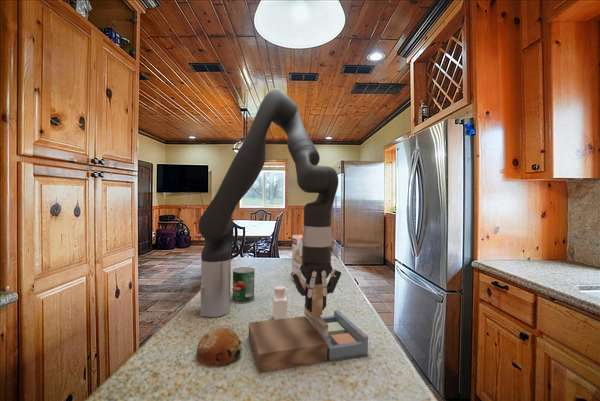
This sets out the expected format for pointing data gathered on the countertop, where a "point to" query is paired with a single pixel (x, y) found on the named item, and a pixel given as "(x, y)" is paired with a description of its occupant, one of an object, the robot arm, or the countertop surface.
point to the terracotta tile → (342, 339)
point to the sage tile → (335, 329)
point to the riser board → (286, 343)
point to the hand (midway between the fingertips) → (315, 309)
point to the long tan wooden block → (317, 311)
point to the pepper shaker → (279, 303)
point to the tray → (349, 348)
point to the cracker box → (297, 256)
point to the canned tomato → (243, 285)
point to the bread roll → (219, 347)
